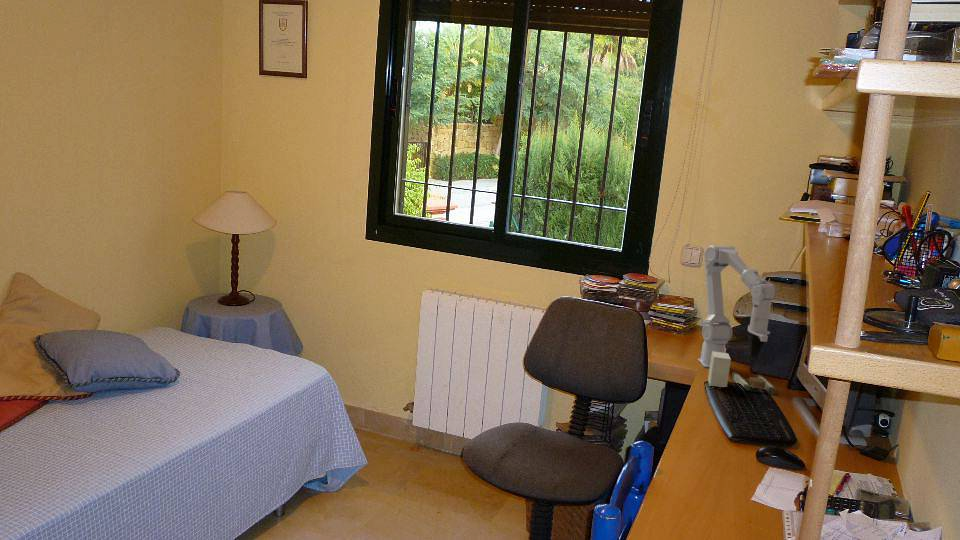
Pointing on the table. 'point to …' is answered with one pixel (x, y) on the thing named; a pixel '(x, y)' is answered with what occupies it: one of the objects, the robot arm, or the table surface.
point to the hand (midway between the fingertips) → (753, 356)
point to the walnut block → (757, 383)
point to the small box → (719, 369)
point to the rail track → (743, 382)
